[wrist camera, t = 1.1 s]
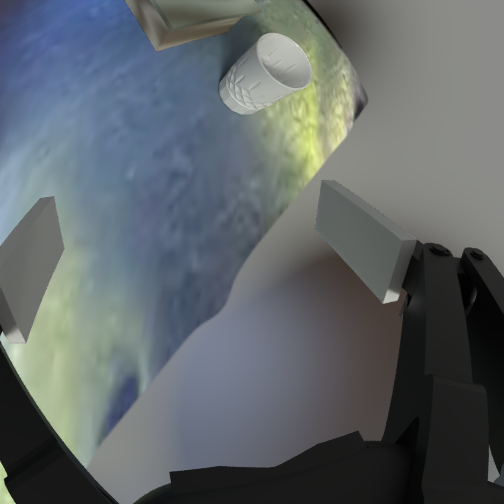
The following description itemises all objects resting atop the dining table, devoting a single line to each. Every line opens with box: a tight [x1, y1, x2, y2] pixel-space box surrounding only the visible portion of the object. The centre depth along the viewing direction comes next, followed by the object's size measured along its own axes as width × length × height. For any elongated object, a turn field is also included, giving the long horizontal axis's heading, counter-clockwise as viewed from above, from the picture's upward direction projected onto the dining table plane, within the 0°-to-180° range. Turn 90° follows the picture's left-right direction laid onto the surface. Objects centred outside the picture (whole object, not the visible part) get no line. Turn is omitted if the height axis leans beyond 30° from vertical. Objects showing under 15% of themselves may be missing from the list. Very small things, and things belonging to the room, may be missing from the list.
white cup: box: [219, 33, 312, 115], centre depth 35 cm, size 8×8×10 cm
